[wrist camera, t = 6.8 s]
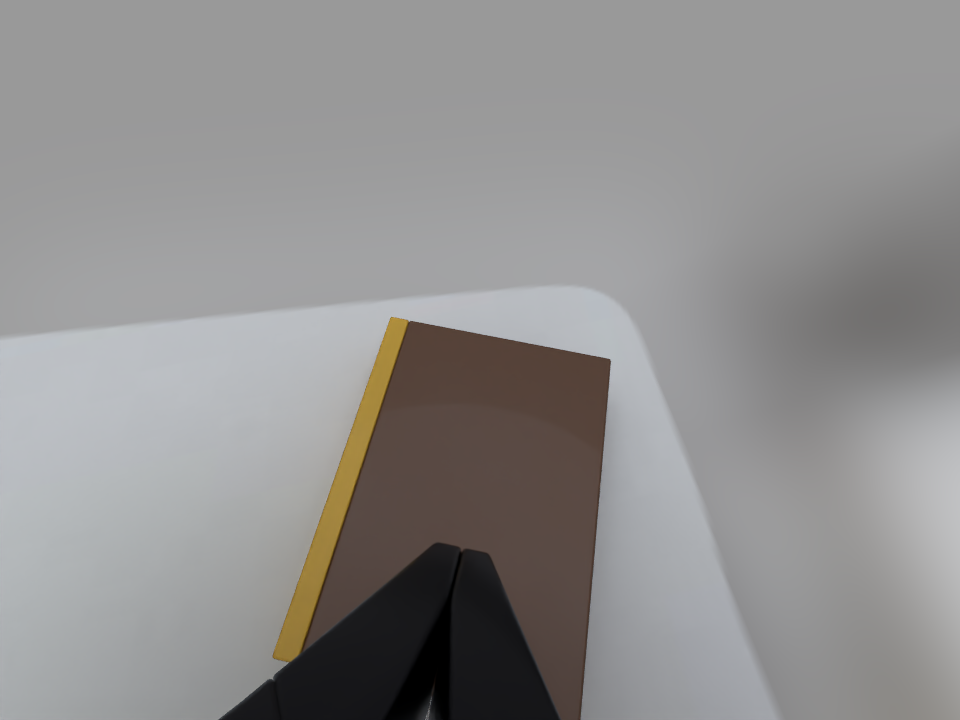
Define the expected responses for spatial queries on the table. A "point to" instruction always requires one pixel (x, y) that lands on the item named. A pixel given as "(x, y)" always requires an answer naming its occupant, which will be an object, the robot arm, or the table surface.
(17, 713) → the table surface
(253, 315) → the table surface
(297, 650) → the book
